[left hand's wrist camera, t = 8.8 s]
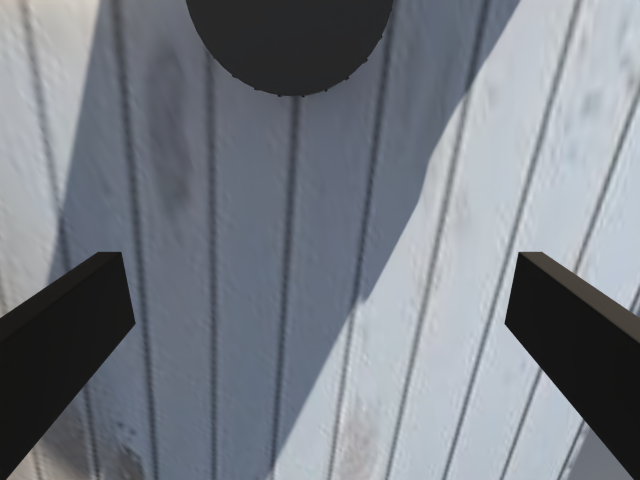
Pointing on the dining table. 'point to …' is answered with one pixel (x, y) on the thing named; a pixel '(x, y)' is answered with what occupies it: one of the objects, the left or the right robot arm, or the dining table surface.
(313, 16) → the lid
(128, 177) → the dining table surface
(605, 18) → the dining table surface
